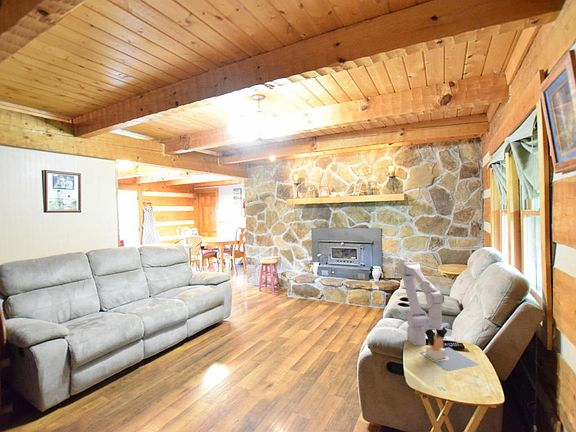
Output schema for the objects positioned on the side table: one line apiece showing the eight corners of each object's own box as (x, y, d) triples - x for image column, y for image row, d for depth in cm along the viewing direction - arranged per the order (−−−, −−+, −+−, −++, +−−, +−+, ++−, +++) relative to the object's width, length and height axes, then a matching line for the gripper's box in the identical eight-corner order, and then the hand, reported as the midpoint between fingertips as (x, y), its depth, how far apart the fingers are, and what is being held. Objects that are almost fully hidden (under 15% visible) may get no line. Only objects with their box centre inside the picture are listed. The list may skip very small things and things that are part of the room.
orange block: (428, 345, 149) (428, 335, 149) (436, 343, 150) (436, 334, 150) (435, 349, 145) (435, 339, 145) (443, 347, 146) (443, 337, 146)
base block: (426, 354, 150) (426, 346, 150) (436, 352, 152) (436, 344, 151) (435, 360, 144) (435, 351, 144) (445, 358, 146) (445, 350, 146)
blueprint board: (419, 353, 152) (419, 352, 152) (449, 348, 157) (448, 347, 157) (446, 372, 135) (446, 371, 135) (479, 365, 139) (479, 364, 139)
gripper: (428, 321, 142) (428, 349, 142) (453, 317, 145) (454, 345, 146) (418, 316, 148) (418, 343, 149) (442, 312, 152) (443, 339, 153)
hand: (435, 343), depth 148 cm, fingers closed on orange block, 4 cm apart
